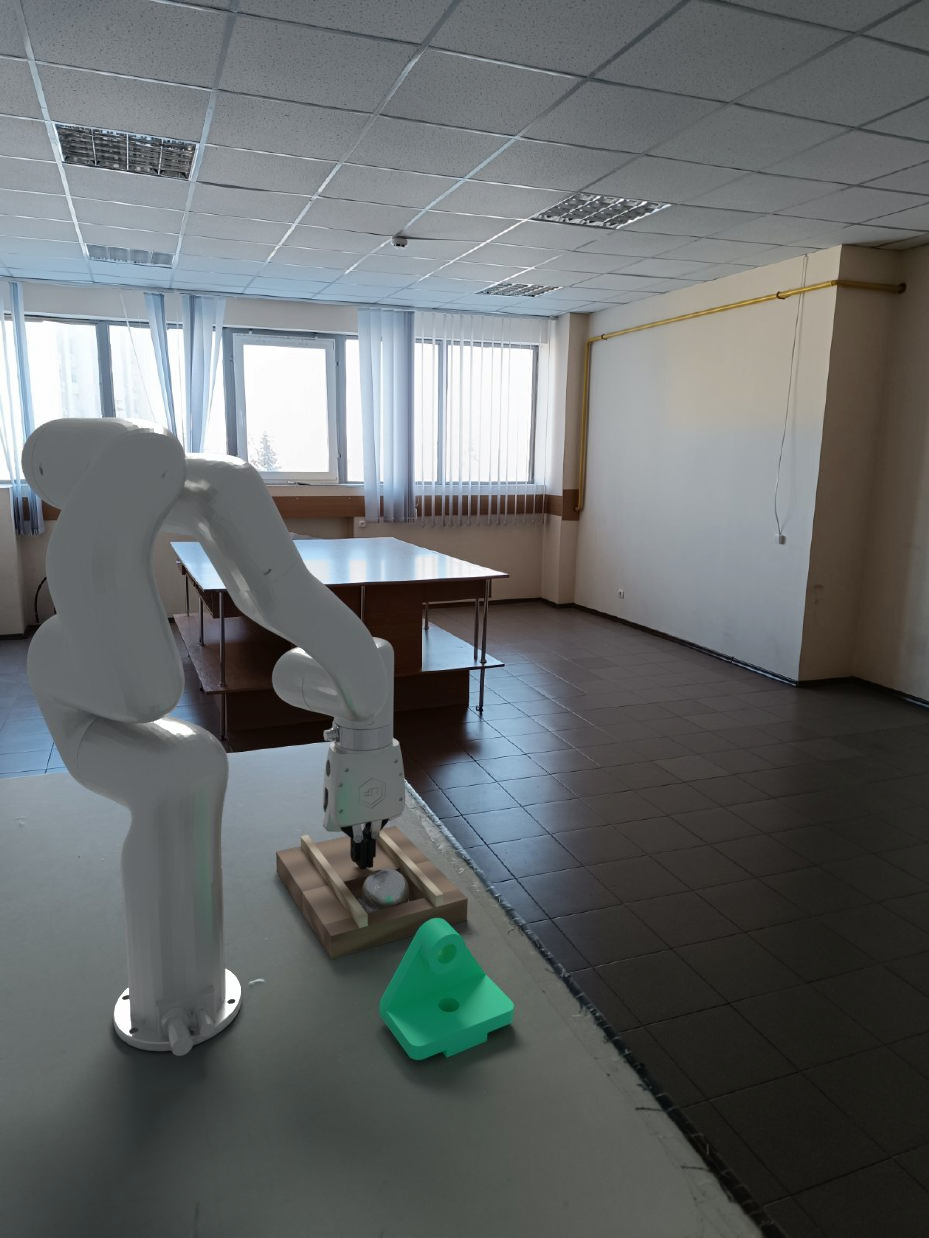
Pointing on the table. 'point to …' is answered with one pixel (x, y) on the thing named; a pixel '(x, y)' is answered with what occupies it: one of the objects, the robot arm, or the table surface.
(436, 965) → the camera mount
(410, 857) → the walnut board
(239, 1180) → the table surface
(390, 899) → the steel ball
